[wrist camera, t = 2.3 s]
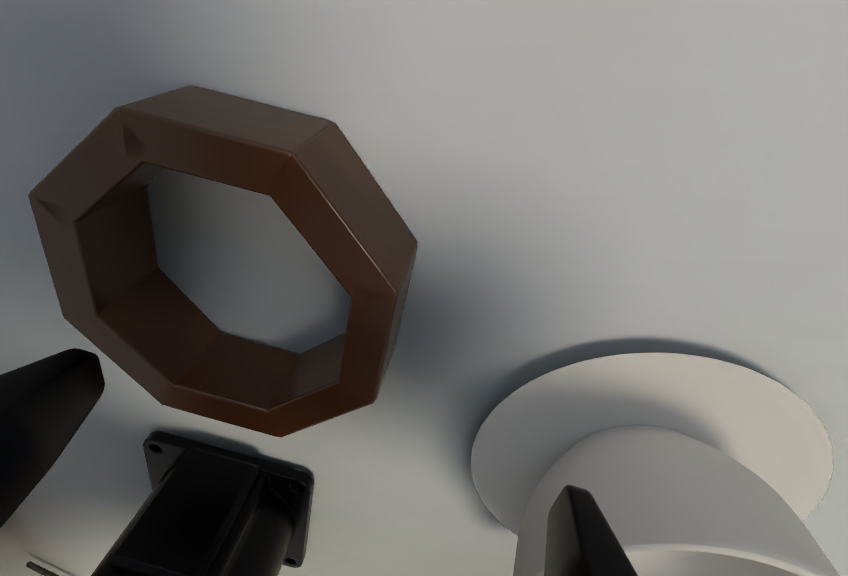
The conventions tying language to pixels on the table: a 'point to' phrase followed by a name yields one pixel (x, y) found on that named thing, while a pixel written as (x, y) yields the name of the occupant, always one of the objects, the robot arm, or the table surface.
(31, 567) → the screw
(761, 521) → the teacup
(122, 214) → the ring
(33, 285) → the table surface
